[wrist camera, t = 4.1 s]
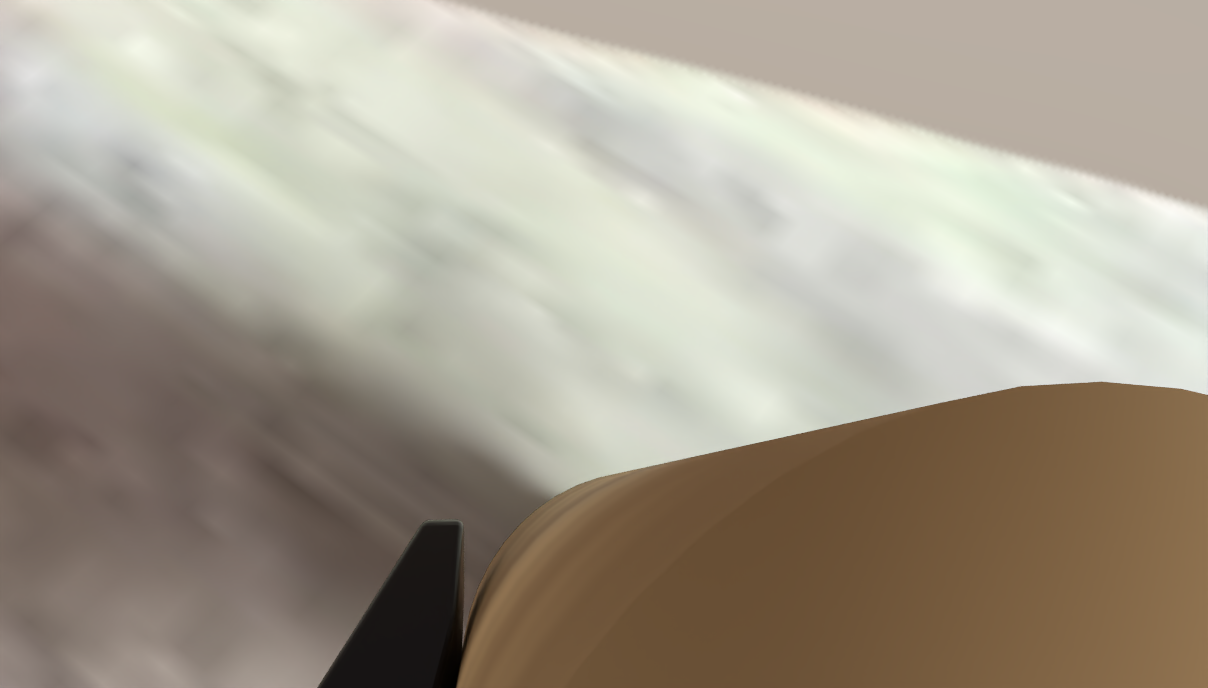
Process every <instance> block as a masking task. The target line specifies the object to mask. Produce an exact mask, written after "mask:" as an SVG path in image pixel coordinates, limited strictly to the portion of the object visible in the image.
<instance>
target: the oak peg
mask: <svg viewBox="0 0 1208 688" xmlns="http://www.w3.org/2000/svg"><path fill="white" fill-rule="evenodd" d="M456 688H1208V395H1205V394H1201V393H1196V392H1192V391H1188V390H1183V389H1176V388H1165V387H1154V386H1142V385H1131V384H1120V383H1109V382H1091V383H1073V384H1055V385H1037V386H1021V387H1016V388H1011V389H1006V390H1001V391H997V392H992V393H987V394H982V395H977V396H972V397H967V398H963V399H958V400H953V401H948V402H943V403H938V404H934V405H929V406H925V407H920V408H916V409H911V410H906V411H902V412H897V413H893V414H888V415H883V416H879V417H874V418H870V419H865V420H861V421H856V422H851V423H847V424H842V425H838V426H833V427H829V428H824V429H819V430H815V431H810V432H806V433H801V434H796V435H792V436H787V437H783V438H778V439H774V440H769V441H764V442H760V443H755V444H751V445H746V446H742V447H737V448H732V449H728V450H723V451H719V452H714V453H709V454H705V455H700V456H696V457H691V458H687V459H682V460H677V461H673V462H668V463H664V464H659V465H655V466H650V467H645V468H641V469H636V470H632V471H627V472H622V473H618V474H613V475H609V476H604V477H600V478H596V479H593V480H591V481H588V482H585V483H582V484H579V485H577V486H575V487H573V488H571V489H569V490H567V491H565V492H563V493H561V494H559V495H557V496H555V497H554V498H552V499H551V500H550V501H548V502H547V503H545V504H544V505H542V506H541V507H539V508H538V509H537V510H535V511H534V512H533V513H532V514H531V515H530V516H529V517H528V518H527V519H525V520H524V521H523V522H522V523H521V524H520V525H519V526H518V527H517V528H516V529H515V531H514V532H513V533H512V534H511V535H510V536H509V538H508V539H507V540H506V541H505V542H504V543H503V545H502V546H501V548H500V549H499V551H498V552H497V554H496V555H495V557H494V558H493V560H492V561H491V563H490V564H489V566H488V568H487V570H486V572H485V574H484V576H483V578H482V580H481V583H480V585H479V587H478V589H477V592H476V595H475V598H474V601H473V604H472V606H471V609H470V613H469V618H468V622H467V627H466V631H465V636H464V642H463V648H462V654H461V660H460V666H459V671H458V676H457V682H456Z"/></svg>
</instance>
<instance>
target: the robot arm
mask: <svg viewBox="0 0 1208 688" xmlns="http://www.w3.org/2000/svg"><path fill="white" fill-rule="evenodd" d="M463 606H464V526H463V523H462V522H461V521H460V520H457V519H448V520H427V521H425V522H423V523H422V525H421V526H420V527H419V529H418V530H417V532H416V533H415V535H414V536H413V538H412V540H411V541H410V543H409V544H408V546H407V547H406V549H405V551H404V552H403V554H402V555H401V557H400V558H399V560H398V562H397V563H396V565H395V566H394V568H393V569H392V571H391V573H390V574H389V576H388V577H387V579H386V581H385V582H384V584H383V585H382V587H381V588H380V590H379V592H378V593H377V595H376V596H375V598H374V599H373V601H372V603H371V604H370V606H369V607H368V609H367V610H366V612H365V614H364V615H363V617H362V618H361V620H360V621H359V623H358V625H357V626H356V628H355V629H354V631H353V633H352V634H351V636H350V637H349V639H348V640H347V642H346V644H345V645H344V647H343V648H342V650H341V651H340V653H339V655H338V656H337V658H336V659H335V661H334V662H333V664H332V666H331V667H330V669H329V670H328V672H327V673H326V675H325V677H324V678H323V680H322V681H321V683H320V685H319V686H318V688H456V682H457V676H458V671H459V666H460V660H461V654H462V636H463Z"/></svg>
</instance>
